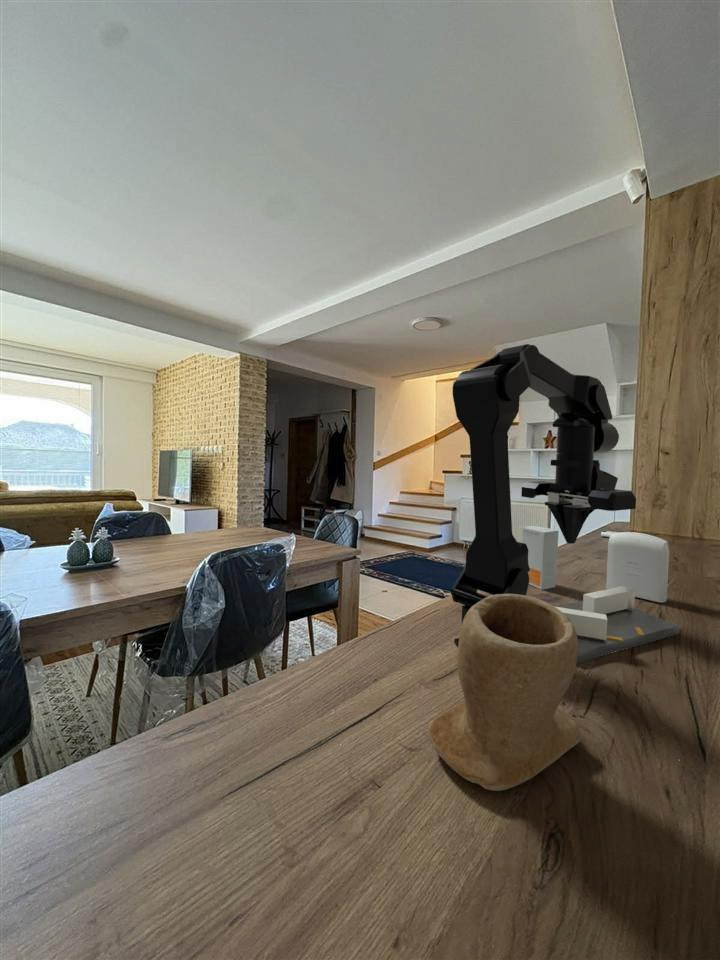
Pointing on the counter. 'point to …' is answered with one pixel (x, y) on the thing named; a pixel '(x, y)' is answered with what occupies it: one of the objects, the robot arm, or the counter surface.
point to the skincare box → (541, 555)
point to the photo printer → (638, 564)
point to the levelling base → (622, 632)
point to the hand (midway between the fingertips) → (570, 543)
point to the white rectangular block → (587, 623)
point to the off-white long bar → (609, 600)
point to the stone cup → (509, 692)
